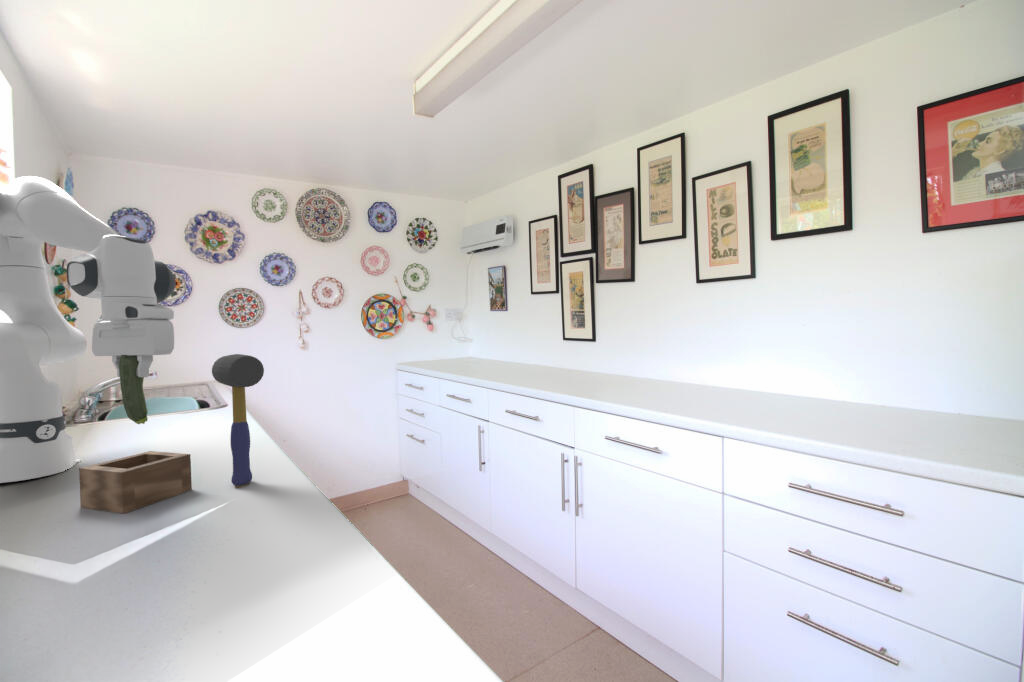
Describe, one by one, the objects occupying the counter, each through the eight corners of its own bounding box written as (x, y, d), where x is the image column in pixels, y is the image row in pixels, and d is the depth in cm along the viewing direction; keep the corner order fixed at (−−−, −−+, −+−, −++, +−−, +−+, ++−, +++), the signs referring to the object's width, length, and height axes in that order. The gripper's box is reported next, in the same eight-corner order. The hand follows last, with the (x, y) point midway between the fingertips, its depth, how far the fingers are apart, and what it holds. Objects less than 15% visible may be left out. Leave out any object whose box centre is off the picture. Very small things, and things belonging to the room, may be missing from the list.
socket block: (80, 507, 87) (78, 468, 87) (151, 485, 99) (150, 451, 99) (123, 513, 83) (121, 472, 83) (191, 489, 95) (190, 454, 95)
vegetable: (124, 427, 88) (120, 330, 88) (119, 425, 91) (115, 331, 90) (152, 423, 91) (147, 330, 91) (146, 421, 94) (142, 331, 94)
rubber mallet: (271, 486, 96) (266, 353, 95) (233, 497, 90) (228, 355, 89) (249, 476, 104) (244, 353, 103) (213, 485, 98) (208, 354, 97)
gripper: (80, 313, 91) (83, 378, 91) (146, 309, 85) (149, 378, 85) (115, 314, 97) (118, 375, 97) (179, 310, 91) (182, 375, 91)
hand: (133, 377), depth 91 cm, fingers closed on vegetable, 4 cm apart
